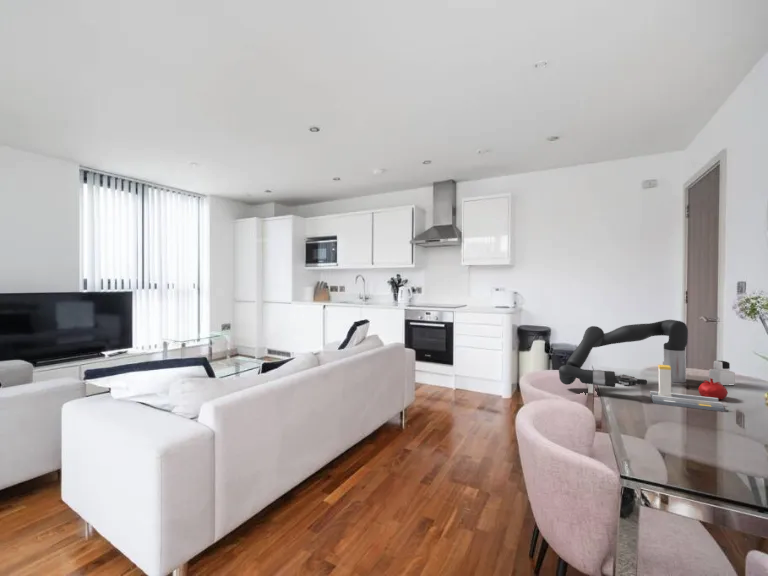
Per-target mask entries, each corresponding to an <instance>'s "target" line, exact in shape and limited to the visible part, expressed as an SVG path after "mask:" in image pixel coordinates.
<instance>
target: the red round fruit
mask: <svg viewBox="0 0 768 576" xmlns="http://www.w3.org/2000/svg"><path fill="white" fill-rule="evenodd" d="M718 383H719V384H718ZM697 389H698V393H699V396H703V397H712V398H718V401H719V400H724V399H726V397H727V396H728V389H727V388H726V386H723V385H721V383H720V382H716V383H713V379H711V378H710V382H709V380H704V382H702V383H701V384H700V385H699V386H698V388H697Z"/></svg>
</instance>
